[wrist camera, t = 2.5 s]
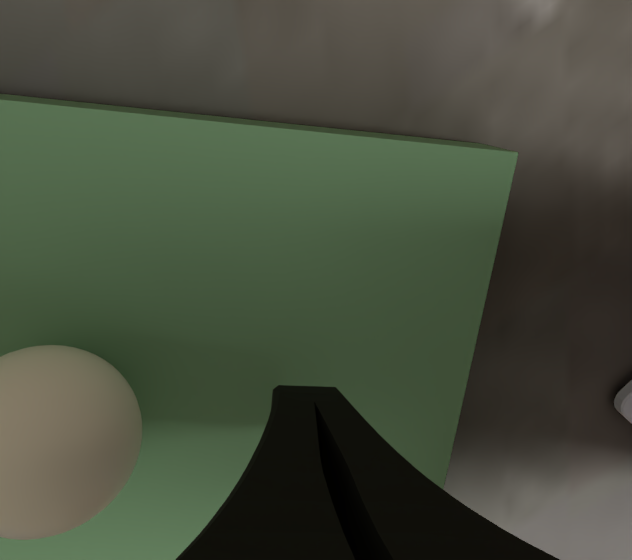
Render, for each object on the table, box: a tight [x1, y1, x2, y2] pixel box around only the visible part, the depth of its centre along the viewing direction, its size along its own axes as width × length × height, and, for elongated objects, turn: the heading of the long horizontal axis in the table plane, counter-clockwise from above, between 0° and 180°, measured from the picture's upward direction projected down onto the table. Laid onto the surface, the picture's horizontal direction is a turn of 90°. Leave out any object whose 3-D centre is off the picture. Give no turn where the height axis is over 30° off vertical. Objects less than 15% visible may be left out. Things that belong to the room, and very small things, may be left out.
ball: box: [0, 345, 142, 540], centre depth 10 cm, size 4×4×4 cm
